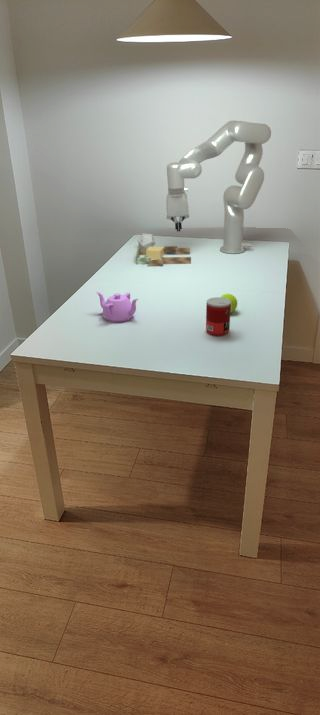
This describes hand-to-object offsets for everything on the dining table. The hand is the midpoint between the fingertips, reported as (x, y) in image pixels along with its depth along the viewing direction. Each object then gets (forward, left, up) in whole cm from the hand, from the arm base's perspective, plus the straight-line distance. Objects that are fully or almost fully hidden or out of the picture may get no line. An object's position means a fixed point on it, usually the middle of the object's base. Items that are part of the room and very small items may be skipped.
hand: (178, 230), depth 245 cm
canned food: (-12, +87, -14) cm, 88 cm away
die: (+16, -17, -14) cm, 28 cm away
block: (+12, -3, -14) cm, 18 cm away
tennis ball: (-17, +70, -14) cm, 73 cm away
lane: (+7, +1, -14) cm, 15 cm away
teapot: (+23, +73, -14) cm, 77 cm away
